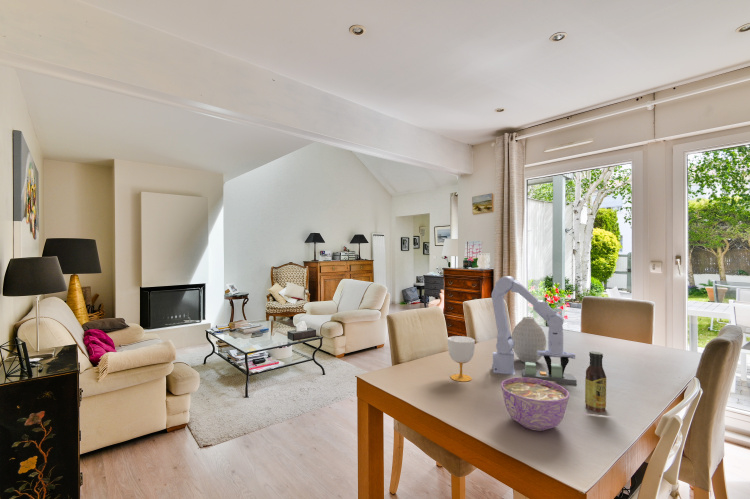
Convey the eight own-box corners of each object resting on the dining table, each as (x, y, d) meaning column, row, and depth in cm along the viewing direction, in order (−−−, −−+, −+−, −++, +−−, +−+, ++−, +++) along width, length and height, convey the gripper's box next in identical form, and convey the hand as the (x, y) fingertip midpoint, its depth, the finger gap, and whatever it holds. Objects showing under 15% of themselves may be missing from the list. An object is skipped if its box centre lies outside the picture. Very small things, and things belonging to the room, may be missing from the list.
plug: (551, 380, 150) (551, 366, 150) (549, 376, 153) (549, 363, 154) (562, 381, 148) (562, 366, 148) (560, 377, 152) (560, 364, 152)
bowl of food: (494, 429, 110) (494, 391, 110) (507, 405, 127) (507, 373, 127) (567, 448, 99) (567, 406, 99) (571, 419, 116) (571, 384, 116)
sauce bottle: (599, 415, 119) (598, 356, 120) (581, 408, 125) (580, 351, 125) (610, 411, 122) (610, 353, 123) (592, 404, 128) (592, 349, 128)
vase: (548, 359, 181) (547, 316, 182) (543, 368, 168) (543, 321, 168) (514, 355, 190) (514, 313, 190) (508, 362, 176) (508, 318, 177)
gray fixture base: (524, 381, 151) (524, 365, 151) (522, 374, 159) (522, 360, 159) (576, 386, 145) (576, 370, 145) (572, 379, 153) (571, 364, 153)
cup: (479, 377, 155) (479, 339, 155) (466, 385, 146) (466, 343, 147) (456, 371, 163) (456, 334, 163) (442, 378, 154) (442, 339, 155)
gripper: (538, 343, 150) (538, 375, 150) (577, 345, 145) (577, 379, 145) (536, 339, 157) (536, 370, 156) (573, 341, 152) (573, 373, 152)
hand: (555, 374), depth 151 cm, fingers closed on plug, 4 cm apart
